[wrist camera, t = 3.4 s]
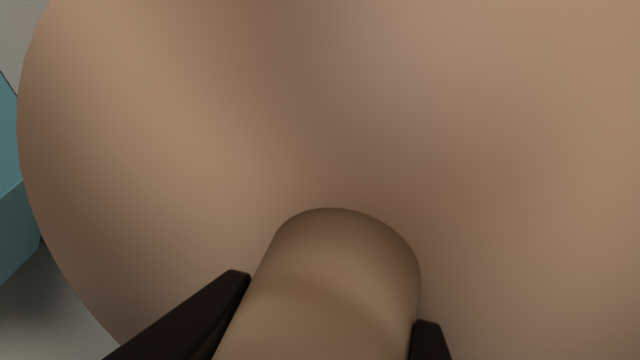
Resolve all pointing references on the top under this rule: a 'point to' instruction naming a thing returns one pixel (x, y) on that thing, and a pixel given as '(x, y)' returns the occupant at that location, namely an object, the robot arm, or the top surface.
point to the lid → (345, 170)
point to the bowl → (13, 193)
